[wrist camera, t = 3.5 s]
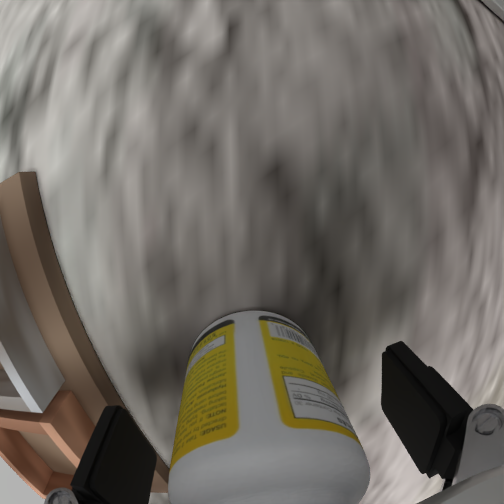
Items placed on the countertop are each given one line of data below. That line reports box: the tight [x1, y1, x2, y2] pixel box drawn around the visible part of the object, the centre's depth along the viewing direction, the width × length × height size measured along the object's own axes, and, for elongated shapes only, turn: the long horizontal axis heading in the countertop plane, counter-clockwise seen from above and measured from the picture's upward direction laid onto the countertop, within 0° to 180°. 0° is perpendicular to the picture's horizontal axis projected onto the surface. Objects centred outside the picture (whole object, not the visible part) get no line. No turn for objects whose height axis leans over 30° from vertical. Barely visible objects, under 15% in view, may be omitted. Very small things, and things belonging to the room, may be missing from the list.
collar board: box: [0, 172, 170, 499], centre depth 10 cm, size 19×12×4 cm, turn 13°
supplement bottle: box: [168, 311, 370, 504], centre depth 8 cm, size 5×5×10 cm
